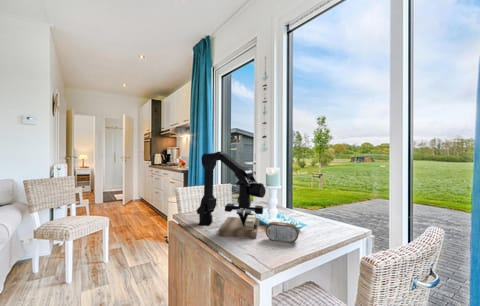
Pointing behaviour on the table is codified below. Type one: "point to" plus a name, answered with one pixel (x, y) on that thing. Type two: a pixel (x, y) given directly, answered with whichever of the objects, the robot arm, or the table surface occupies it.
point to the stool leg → (250, 221)
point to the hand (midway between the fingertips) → (243, 225)
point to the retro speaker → (282, 232)
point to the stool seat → (238, 228)
